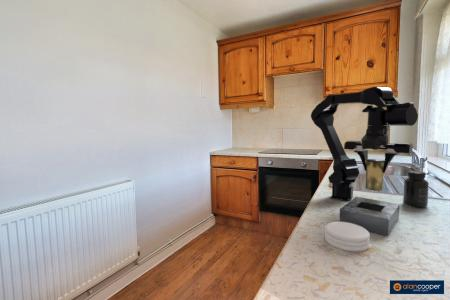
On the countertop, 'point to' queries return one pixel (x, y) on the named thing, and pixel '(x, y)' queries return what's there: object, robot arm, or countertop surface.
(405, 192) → the supplement bottle
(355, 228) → the white flat disc stack
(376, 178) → the tan cylinder
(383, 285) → the countertop surface
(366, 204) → the housing
